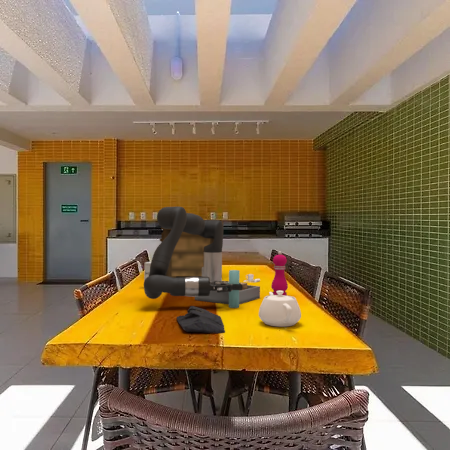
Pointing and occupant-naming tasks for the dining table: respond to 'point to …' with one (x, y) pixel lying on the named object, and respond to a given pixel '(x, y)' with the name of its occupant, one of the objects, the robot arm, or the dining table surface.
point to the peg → (235, 293)
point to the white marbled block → (147, 269)
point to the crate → (187, 254)
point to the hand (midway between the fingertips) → (241, 286)
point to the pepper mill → (279, 274)
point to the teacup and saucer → (251, 278)
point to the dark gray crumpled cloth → (201, 321)
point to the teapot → (279, 310)
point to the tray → (223, 297)
